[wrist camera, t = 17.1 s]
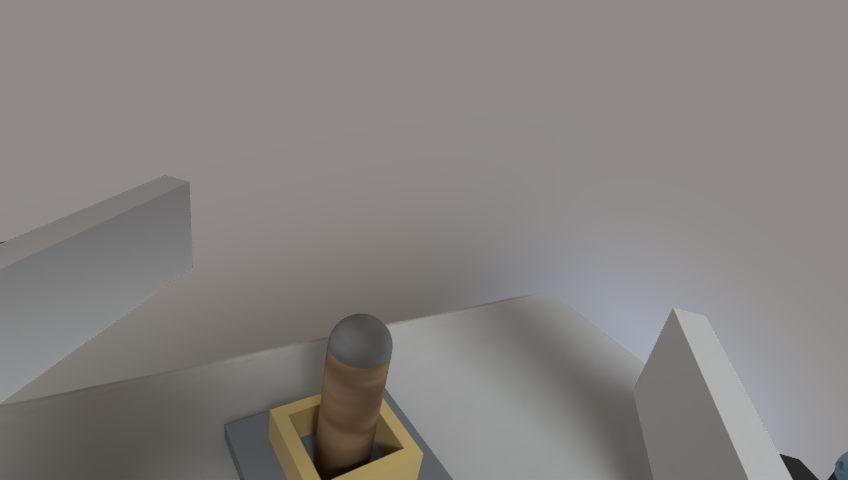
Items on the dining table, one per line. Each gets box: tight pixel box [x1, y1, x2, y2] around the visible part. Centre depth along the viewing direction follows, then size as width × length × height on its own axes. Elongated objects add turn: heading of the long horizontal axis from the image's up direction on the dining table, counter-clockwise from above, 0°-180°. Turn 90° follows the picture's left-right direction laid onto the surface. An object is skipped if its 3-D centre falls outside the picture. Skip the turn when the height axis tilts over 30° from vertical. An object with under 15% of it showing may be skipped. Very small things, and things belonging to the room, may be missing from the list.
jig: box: [225, 389, 453, 480], centre depth 44 cm, size 16×16×5 cm
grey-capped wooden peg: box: [313, 314, 392, 480], centre depth 41 cm, size 5×5×16 cm
